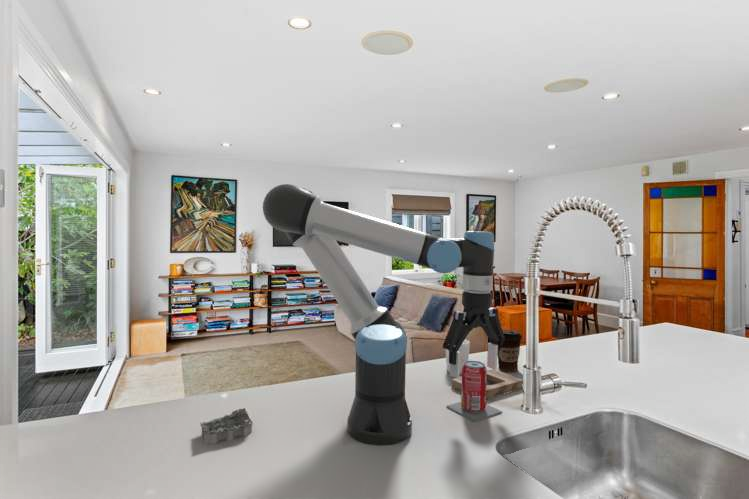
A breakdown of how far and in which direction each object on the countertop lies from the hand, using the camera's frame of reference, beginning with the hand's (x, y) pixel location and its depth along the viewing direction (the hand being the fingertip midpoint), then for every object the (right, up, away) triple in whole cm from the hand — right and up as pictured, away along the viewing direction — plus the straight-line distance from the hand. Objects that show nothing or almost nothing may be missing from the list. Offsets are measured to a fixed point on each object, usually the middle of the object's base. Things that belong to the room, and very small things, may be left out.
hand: (473, 372), depth 111 cm
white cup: (+2, -9, +31) cm, 32 cm away
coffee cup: (+19, -9, +33) cm, 39 cm away
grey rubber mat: (0, -10, +1) cm, 10 cm away
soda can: (0, -10, 0) cm, 10 cm away
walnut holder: (+8, -9, +16) cm, 20 cm away
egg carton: (-59, -10, -14) cm, 62 cm away
